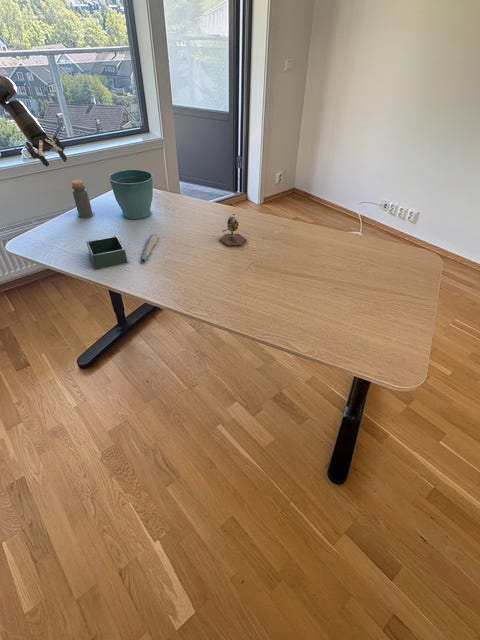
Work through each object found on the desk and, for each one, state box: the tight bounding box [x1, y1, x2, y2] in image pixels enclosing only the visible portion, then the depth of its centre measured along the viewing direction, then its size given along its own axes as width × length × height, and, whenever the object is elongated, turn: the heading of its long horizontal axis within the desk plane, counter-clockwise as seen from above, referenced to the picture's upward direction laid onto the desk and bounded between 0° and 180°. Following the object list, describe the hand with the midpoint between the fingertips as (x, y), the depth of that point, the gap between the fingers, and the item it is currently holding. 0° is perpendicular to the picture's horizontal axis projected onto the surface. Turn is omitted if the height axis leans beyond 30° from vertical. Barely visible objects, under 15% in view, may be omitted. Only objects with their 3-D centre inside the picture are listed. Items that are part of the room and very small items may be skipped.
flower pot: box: [108, 169, 154, 220], centre depth 152 cm, size 18×18×17 cm
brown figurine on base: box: [219, 213, 247, 247], centre depth 139 cm, size 11×9×12 cm
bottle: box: [70, 179, 94, 219], centre depth 149 cm, size 6×6×15 cm
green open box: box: [86, 235, 128, 270], centre depth 126 cm, size 11×11×6 cm
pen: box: [141, 232, 159, 264], centre depth 133 cm, size 19×3×3 cm, turn 178°
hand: (57, 163), depth 145 cm, fingers open, 8 cm apart
